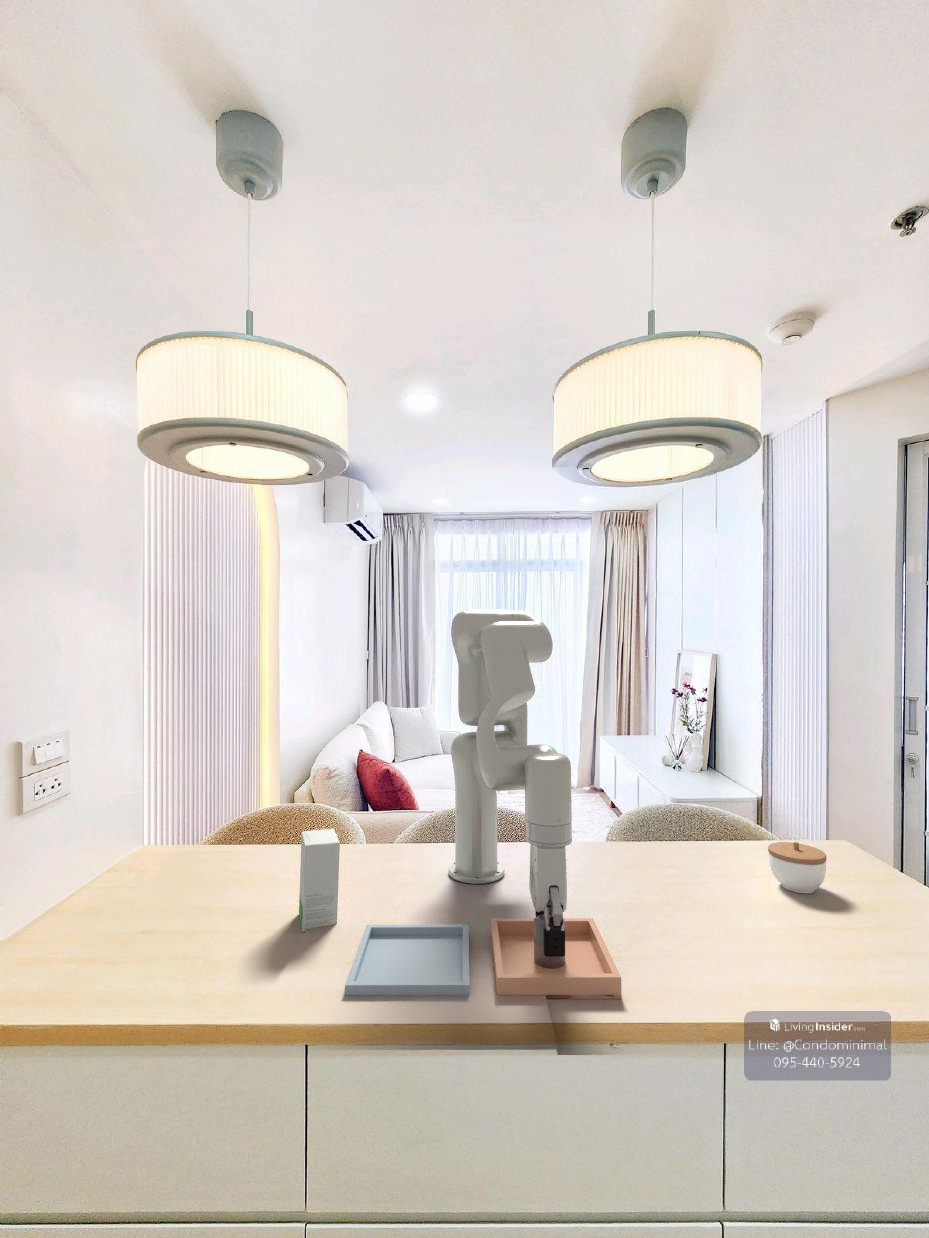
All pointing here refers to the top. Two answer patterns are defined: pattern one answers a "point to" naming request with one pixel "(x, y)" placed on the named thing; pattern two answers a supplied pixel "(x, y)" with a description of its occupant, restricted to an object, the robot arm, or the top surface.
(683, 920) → the top surface
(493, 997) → the top surface
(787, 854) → the lidded jar
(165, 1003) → the top surface
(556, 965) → the gray metal cylinder
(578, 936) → the terracotta dish
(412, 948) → the parts tray
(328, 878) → the skincare box
